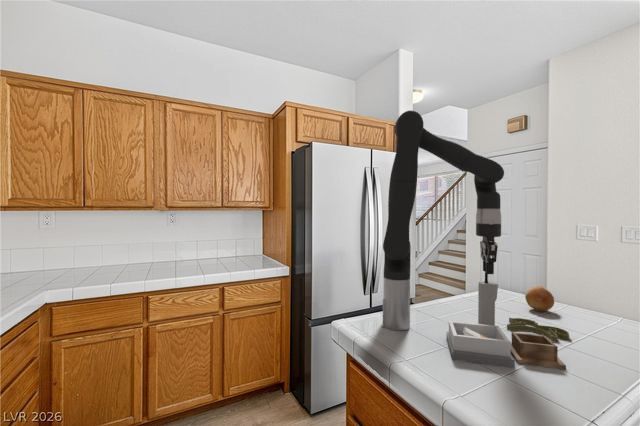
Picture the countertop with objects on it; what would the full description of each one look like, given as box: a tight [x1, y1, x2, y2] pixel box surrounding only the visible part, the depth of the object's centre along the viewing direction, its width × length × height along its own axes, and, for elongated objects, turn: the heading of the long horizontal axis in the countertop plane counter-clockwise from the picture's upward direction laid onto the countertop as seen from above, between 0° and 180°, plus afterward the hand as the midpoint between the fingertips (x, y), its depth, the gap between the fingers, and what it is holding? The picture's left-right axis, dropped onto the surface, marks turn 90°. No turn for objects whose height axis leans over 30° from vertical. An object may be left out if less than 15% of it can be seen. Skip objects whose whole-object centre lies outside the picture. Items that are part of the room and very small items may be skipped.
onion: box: [524, 285, 555, 313], centre depth 125 cm, size 10×10×10 cm
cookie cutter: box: [506, 317, 570, 343], centre depth 103 cm, size 18×12×2 cm, turn 41°
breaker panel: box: [446, 320, 516, 368], centre depth 88 cm, size 15×15×6 cm
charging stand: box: [511, 331, 567, 370], centre depth 85 cm, size 11×11×5 cm
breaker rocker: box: [463, 327, 487, 338], centre depth 88 cm, size 7×4×2 cm, turn 73°
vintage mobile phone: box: [477, 259, 499, 326], centre depth 102 cm, size 4×5×25 cm
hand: (488, 272), depth 102 cm, fingers open, 4 cm apart
